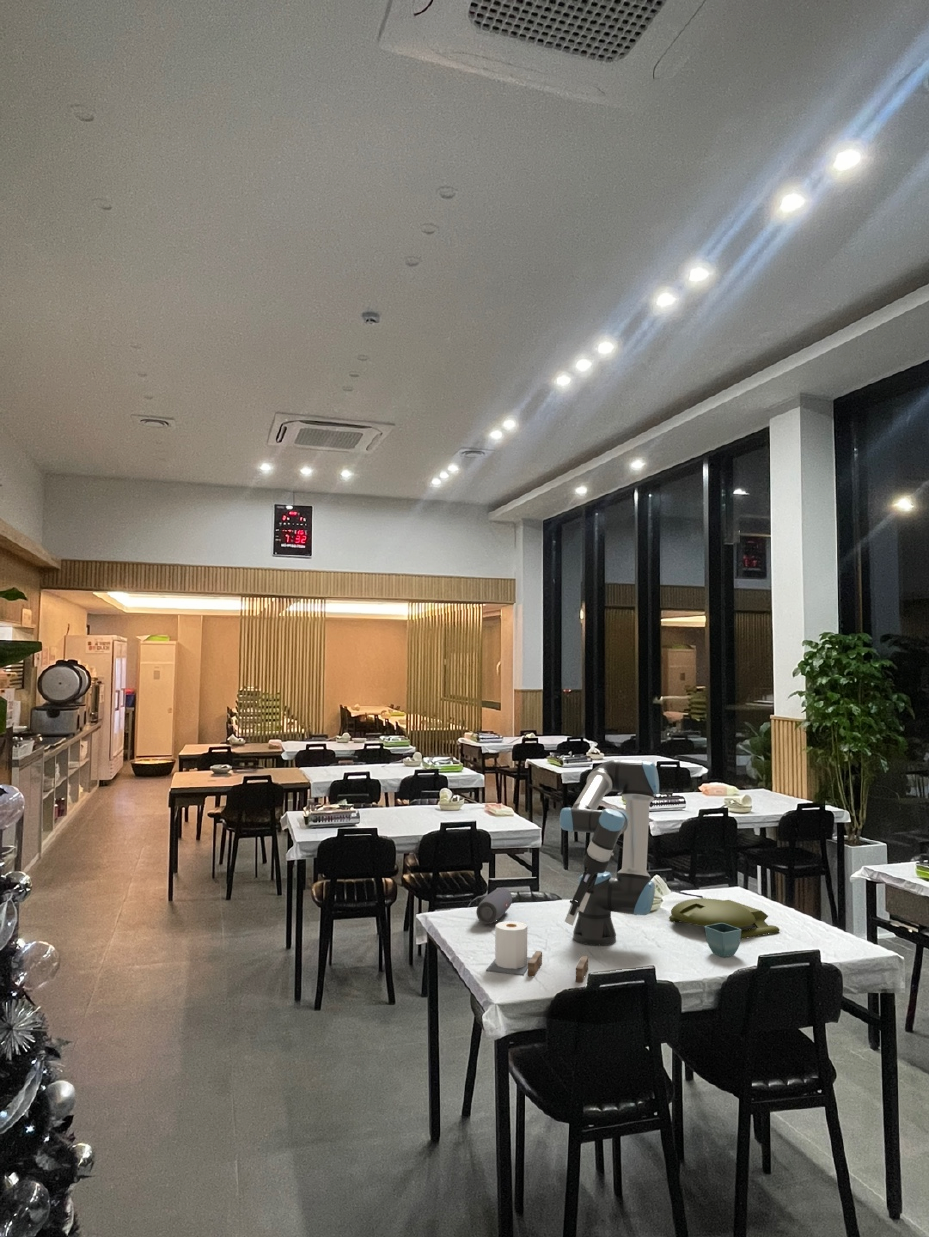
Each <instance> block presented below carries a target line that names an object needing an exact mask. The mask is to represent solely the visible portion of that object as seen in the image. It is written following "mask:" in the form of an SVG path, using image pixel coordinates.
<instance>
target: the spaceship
mask: <svg viewBox="0 0 929 1237" xmlns="http://www.w3.org/2000/svg"><path fill="white" fill-rule="evenodd" d="M768 917H769V915H767V914H766V913H765V912H764V911H763V910H761V909H758V908H755V907H752V906H749V905H745V904H742V903H739V902H736V901H734V900H731V899H717V898H693V899H687V900H683V901H681V902H678V903H676V904H675V905H674V906H673V907H671V910H670V915H669V918H668V919H669V920H670V921H671V922H673V921H675V922H674V923H680V922H679V921H682V923H683V922H684V923H687V924H691V925H694V926H700V927H705V926H708V925H713V924H718V923H725V924H728V925H730V926H733V927H736V928H739V929H740V928H743V929H741V938H740V940H743V939H748V938H747V937H749V938H753V936H755V937H759V936H758V935H761V936H764V935H763V934H767V935H769V934H768V933H774V934H777V932H778V933H779V932H780V928H779V927H778V926H776V925H772V924H771V925H770V924H768V923H767V922H766V921H765V920H766V919H767V918H768ZM749 926H754V927H752V928H751V927H750V928H745V927H749ZM744 928H745V929H744ZM742 938H743V939H742Z"/></svg>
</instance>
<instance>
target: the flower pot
mask: <svg viewBox="0 0 929 1237" xmlns="http://www.w3.org/2000/svg"><path fill="white" fill-rule="evenodd" d="M741 930H742V929H741V928H740V927H739V928H736V927H733V926H730V925H728V924H725V923H718V924H713V925H708V926H704V931H705V938H706V943H707V944H708V948H709V949H710V951H711V952H712V953H713V954H714V953H715V954H714V955H716V956H720V957H722V958H726V957H731V955H732V956H734V955H735V954H736V953H737V952H738V949H739V947H740V944H741V939H740V938H741Z"/></svg>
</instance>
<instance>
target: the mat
mask: <svg viewBox="0 0 929 1237" xmlns="http://www.w3.org/2000/svg"><path fill="white" fill-rule="evenodd" d="M531 958H532V956H530V957H529V956H527V965H526V966H525V967H522V968H517V969H510V968H503V967H500V966H497V964H496V963H495V959H494V960H492V962H491V963H490V965H489V966H488V967H487V968H486V970H485V971H486V972H492V973H501V974H509V975H518V976H524V975H525V973H526V972H527V971H528V962H529V961H530V959H531ZM526 970H527V971H526Z"/></svg>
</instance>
